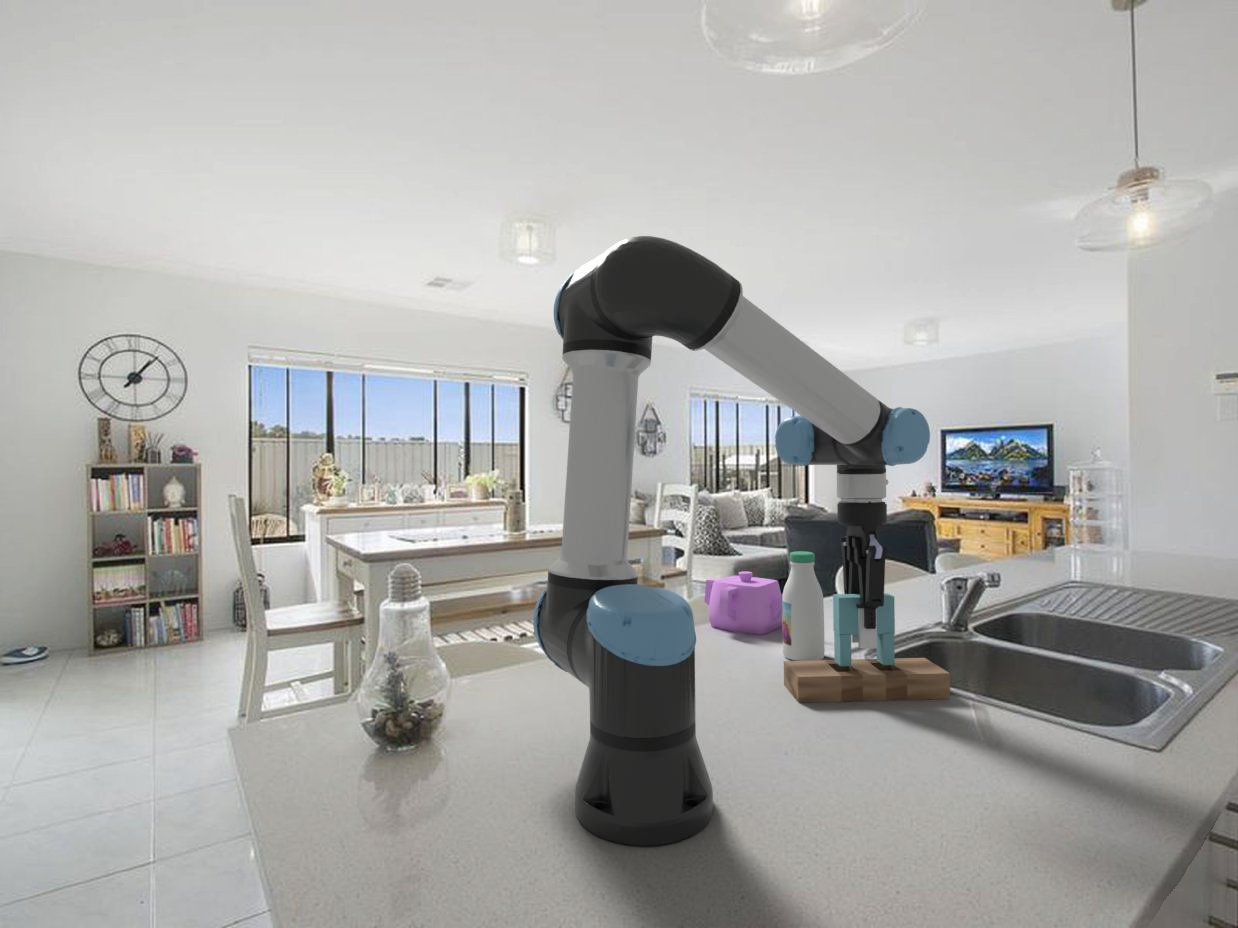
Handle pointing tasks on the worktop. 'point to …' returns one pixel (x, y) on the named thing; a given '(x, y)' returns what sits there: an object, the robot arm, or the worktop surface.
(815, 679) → the wooden slotted block
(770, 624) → the teakettle
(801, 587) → the milk bottle
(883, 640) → the clip
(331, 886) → the worktop surface
